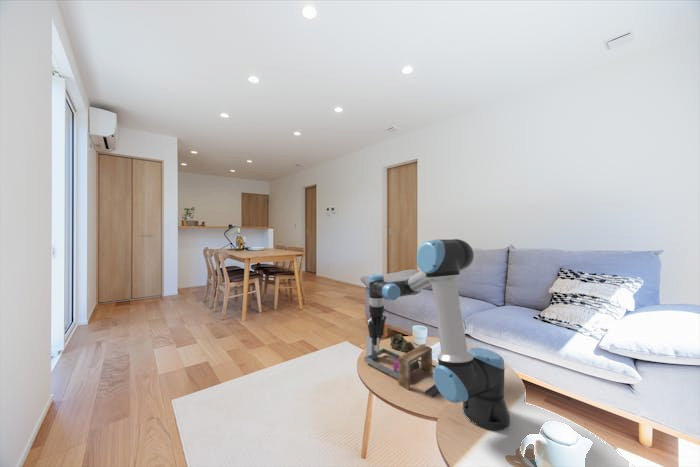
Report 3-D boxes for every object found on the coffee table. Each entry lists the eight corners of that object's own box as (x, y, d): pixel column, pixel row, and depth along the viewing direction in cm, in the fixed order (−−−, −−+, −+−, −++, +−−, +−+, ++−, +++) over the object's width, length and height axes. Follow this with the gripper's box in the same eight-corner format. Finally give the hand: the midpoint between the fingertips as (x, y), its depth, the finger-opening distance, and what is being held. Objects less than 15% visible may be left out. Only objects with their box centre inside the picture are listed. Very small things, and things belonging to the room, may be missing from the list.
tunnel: (431, 374, 125) (431, 348, 125) (408, 389, 113) (408, 361, 113) (422, 369, 129) (422, 344, 129) (398, 384, 117) (398, 357, 117)
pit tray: (447, 385, 116) (447, 383, 116) (432, 397, 108) (432, 395, 108) (440, 382, 119) (440, 380, 119) (424, 393, 111) (424, 391, 111)
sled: (419, 370, 128) (419, 347, 128) (400, 381, 119) (400, 357, 118) (378, 351, 148) (378, 331, 148) (358, 360, 138) (358, 339, 138)
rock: (391, 342, 161) (384, 340, 154) (402, 330, 161) (396, 327, 154) (405, 360, 153) (399, 359, 145) (417, 347, 153) (412, 345, 145)
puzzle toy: (403, 378, 122) (403, 366, 122) (393, 373, 126) (393, 361, 126) (411, 374, 125) (411, 362, 125) (401, 369, 130) (401, 357, 130)
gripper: (379, 301, 146) (379, 344, 146) (362, 305, 137) (362, 351, 137) (390, 304, 140) (390, 349, 140) (373, 309, 131) (373, 357, 132)
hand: (376, 350), depth 139 cm, fingers closed
